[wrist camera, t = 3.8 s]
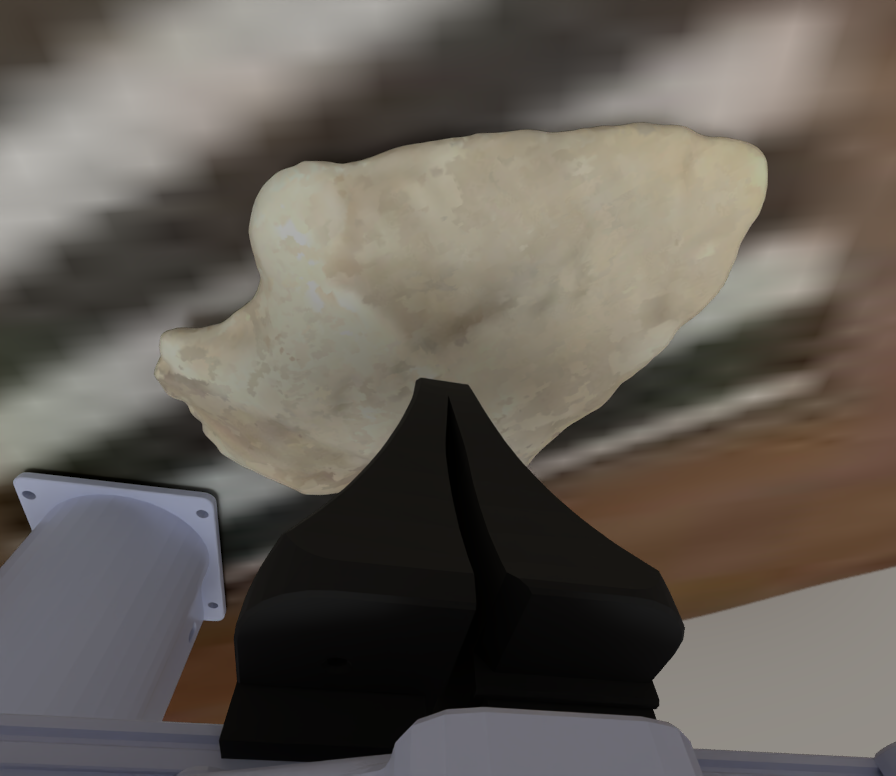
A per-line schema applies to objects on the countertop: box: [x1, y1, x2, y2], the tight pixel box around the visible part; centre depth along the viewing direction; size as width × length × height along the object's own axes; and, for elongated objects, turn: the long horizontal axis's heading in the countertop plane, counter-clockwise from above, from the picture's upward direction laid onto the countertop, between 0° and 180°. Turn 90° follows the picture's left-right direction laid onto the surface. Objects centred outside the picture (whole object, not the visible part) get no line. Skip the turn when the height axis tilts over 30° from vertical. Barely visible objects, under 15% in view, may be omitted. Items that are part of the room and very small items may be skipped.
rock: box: [154, 123, 768, 495], centre depth 16 cm, size 4×13×20 cm
